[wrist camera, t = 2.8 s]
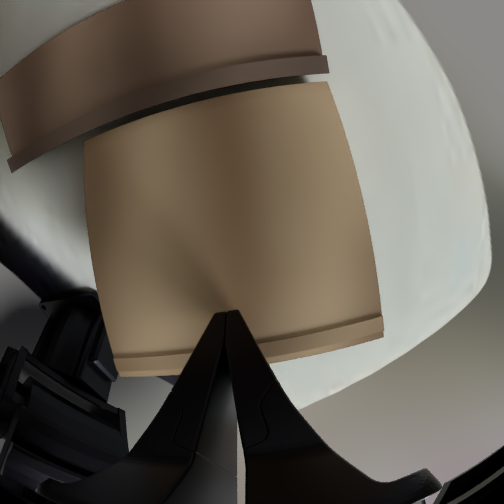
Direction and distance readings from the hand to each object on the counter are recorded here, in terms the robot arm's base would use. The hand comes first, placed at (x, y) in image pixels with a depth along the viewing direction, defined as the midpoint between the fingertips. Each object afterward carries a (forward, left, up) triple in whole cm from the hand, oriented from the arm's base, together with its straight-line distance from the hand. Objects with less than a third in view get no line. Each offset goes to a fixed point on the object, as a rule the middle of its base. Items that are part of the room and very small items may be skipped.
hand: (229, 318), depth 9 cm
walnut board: (-2, +10, -7) cm, 12 cm away
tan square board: (0, +1, -3) cm, 4 cm away
